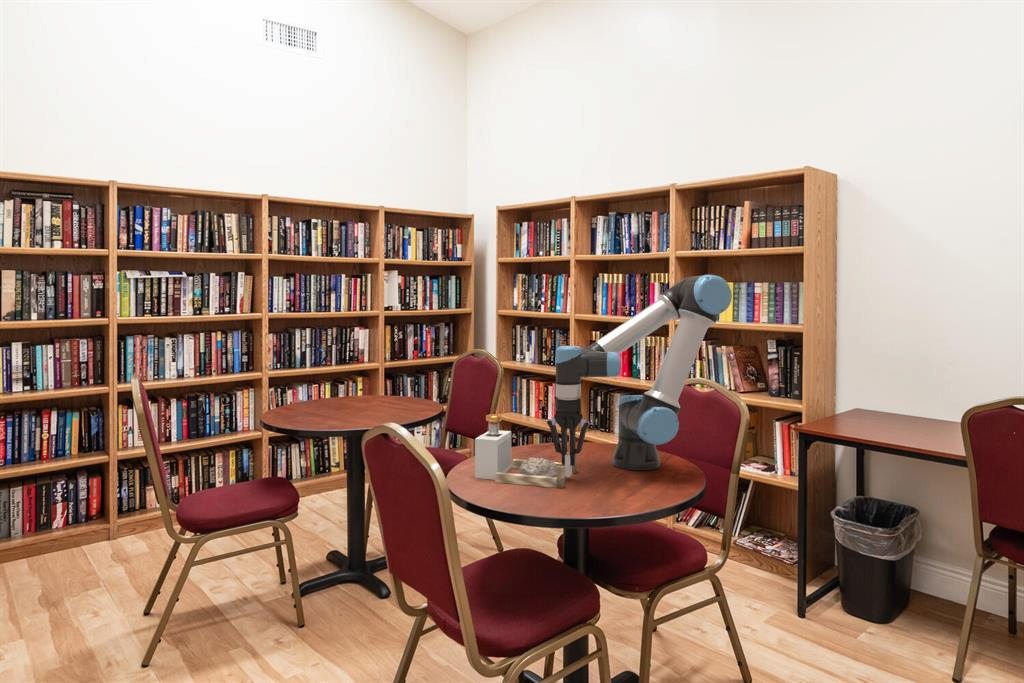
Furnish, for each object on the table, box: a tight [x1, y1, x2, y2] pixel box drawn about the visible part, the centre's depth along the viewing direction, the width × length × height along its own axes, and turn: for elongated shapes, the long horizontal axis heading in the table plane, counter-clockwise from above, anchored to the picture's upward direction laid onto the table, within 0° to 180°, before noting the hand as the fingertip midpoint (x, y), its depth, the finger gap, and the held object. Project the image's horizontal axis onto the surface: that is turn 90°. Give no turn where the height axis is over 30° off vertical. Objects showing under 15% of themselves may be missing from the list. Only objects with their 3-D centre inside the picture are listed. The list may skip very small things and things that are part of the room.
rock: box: [518, 457, 557, 477], centre depth 200 cm, size 11×11×6 cm
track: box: [494, 454, 578, 489], centre depth 201 cm, size 20×19×6 cm
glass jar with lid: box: [485, 413, 503, 437], centre depth 204 cm, size 5×5×8 cm
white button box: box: [474, 429, 512, 481], centre depth 205 cm, size 7×14×12 cm, turn 163°
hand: (568, 475), depth 198 cm, fingers closed
